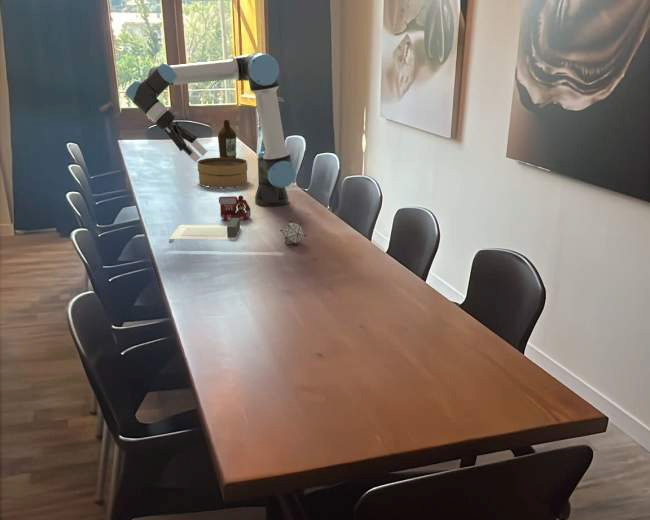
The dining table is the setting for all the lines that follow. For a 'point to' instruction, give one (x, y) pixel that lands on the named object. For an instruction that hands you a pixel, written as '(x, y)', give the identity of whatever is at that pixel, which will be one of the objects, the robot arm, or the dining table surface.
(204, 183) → the steamer basket
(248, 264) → the dining table surface
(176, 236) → the mat
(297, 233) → the geodesic ball
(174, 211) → the dining table surface
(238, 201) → the red toy car
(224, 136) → the olive oil
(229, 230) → the grey rectangular block
